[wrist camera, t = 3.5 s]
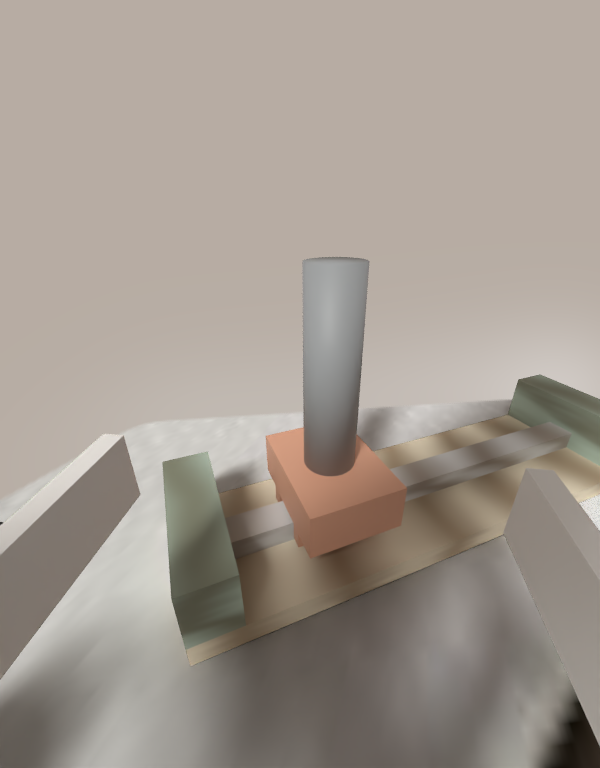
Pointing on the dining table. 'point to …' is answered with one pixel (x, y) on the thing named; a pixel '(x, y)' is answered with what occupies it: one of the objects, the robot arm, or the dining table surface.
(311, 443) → the carriage
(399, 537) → the rail track
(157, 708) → the dining table surface
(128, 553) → the dining table surface
